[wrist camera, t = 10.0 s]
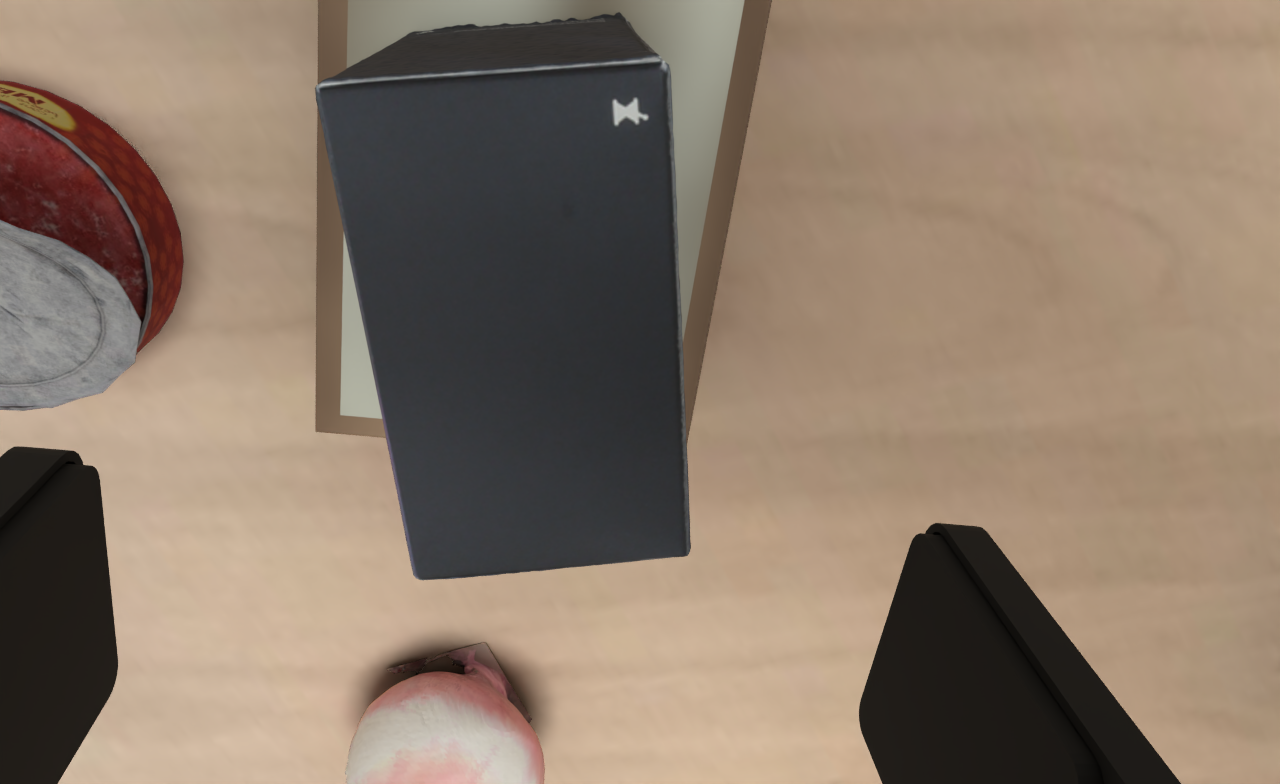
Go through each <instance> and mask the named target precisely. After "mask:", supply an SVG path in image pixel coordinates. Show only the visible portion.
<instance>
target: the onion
mask: <svg viewBox="0 0 1280 784" xmlns="http://www.w3.org/2000/svg"><path fill="white" fill-rule="evenodd" d="M445 655H446V656H449V657H450V658H451V659H453V660H454V661H453V662H452V663H453V665H458V666H461V667H465V668H464V672H465V674H456V673H450V672H441V671H440V672H438V671H435V672H428V673H423V674H418V672H419V671H421V670H422V669H423V667H424V666H425V664H426V663H428V662H431V661H433V660H435V659H438V658H440V657H443V656H445ZM426 659H427V658H424V659H421V660H418V661H415V662H412V663H408V664H405V665H401V666H397V667H393V668H389V669H387V671H391V672H393V673H399V672H403V673H404V672H407V671H416V676H413V677H411V678H408V679H406V680H404V681H402V682H399V683H398V684H396V685H394V686H392V687H391V688H390V689H388V690H387V691H386V692H384V693H383V694H382V695H381V696H379V697H378V698H377V699H376V700H375V701H373V702H372V703H371V704H370V705H369V707H368V708H367V710H366V711H365V713H364V715H363V716H362V718H361V720H360V721H359V723H358V726H357V730H356V732H355V735H354V737H353V739H352V742H351V745H350V750H349V755H348V761H347V767H346V771H345V774H346V780H347V784H544V773H545V767H544V758H543V752H542V748H541V745H540V742H539V740H538V737H537V735H536V733H535V731H534V730H533V728H532V727H531V726H530V725H529V723H530V721H531V720H532V719H531V717H530V715H529V714H528V712H527V710H526V709H525V707H524V706H523V704H522V703H521V701H520V699H519V698H518V696H517V695H516V693H515V691H514V690H513V688H512V686H511V685H510V683H509V681H508V680H507V678H506V676H505V675H504V673H503V671H502V669H501V668H500V666H499V664H498V663H497V661H496V659H495V658H494V656H493V654H492V653H491V651H490V649H489V648H488V646H487V644H486V643H485V642H484V643H480V644H476V645H473V646H469V647H466V648H462V649H458V650H454V651H450V652H447V653H443V654H440V655H438V656H436V657H434V658H432V659H430V660H428V661H426Z"/></svg>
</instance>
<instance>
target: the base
mask: <svg viewBox="0 0 1280 784" xmlns="http://www.w3.org/2000/svg"><path fill="white" fill-rule="evenodd" d="M771 2H772V0H318V84H319V83H320V82H321V81H323V80H324V79H327V78H329V77H333V76H335V75H337V74H339V73H341V72H342V71H344V70H346V69H347V68H349V67H350V66H352V65H354V64H356V63H359V62H360V61H361V60H363V59H366V58H367V57H370V56H371V55H373V54H375V53H376V52H378V51H381V50H382V49H384V48H385V47H387V46H389V45H391V44H393V43H395V42H396V41H398V40H400V39H401V38H403V37H405V36H406V35H407V34H409V33H411V32H414V31H428V30H433V29H439V28H444V27H452V26H456V25H467V24H475V25H476V26H480V27H482V26H486V25H487V26H493V25H500V24H503V23H507V24H521V23H525V24H529V23H533V22H536V21H537V22H539V23H545V22H550V21H552V20H553V19H560V20H563V21H565V20H567V19H569V18H575V19H577V20H585V19H590V18H592V17H594V16H600V15H603V14H609V15H613V16H614V15H615V14H616V13H618V12H620V13H621V14H622V16H624V17H625V18H626V19H627V20H628V21H629V22H630V23H631V26H632V27H633V29H634V31H635V32H636V33H637V34H638V35H639V36H640V37H641V39H642V40H644V41H645V42H646V43H647V44H648V45H649V46H650V47H651V48H652V49H653V50H654V51H655V52H656V53H657V54H659V55H660V56H661V58H662V59H663V60H664V61H665V62H666V63H667V64H669V67H670V71H671V88H672V111H673V136H674V158H675V171H676V197H677V228H678V246H679V252H678V258H679V278H680V295H681V314H682V341H683V358H684V394H685V413H686V445H687V441H688V435H689V430H690V425H691V420H692V415H693V409H694V404H695V399H696V394H697V388H698V383H699V378H700V373H701V368H702V362H703V357H704V352H705V347H706V341H707V336H708V331H709V326H710V321H711V315H712V310H713V305H714V300H715V294H716V289H717V284H718V279H719V274H720V268H721V263H722V258H723V253H724V247H725V242H726V237H727V232H728V227H729V221H730V216H731V211H732V206H733V200H734V195H735V190H736V185H737V179H738V174H739V169H740V164H741V159H742V153H743V148H744V143H745V138H746V132H747V127H748V122H749V117H750V112H751V106H752V101H753V96H754V91H755V85H756V80H757V75H758V70H759V65H760V59H761V54H762V49H763V44H764V38H765V33H766V28H767V23H768V18H769V12H770V7H771ZM316 432H325V433H336V434H348V435H359V436H371V437H383V438H386V434H385V429H384V424H383V420H382V415H381V410H380V405H379V400H378V395H377V390H376V385H375V380H374V375H373V370H372V365H371V360H370V355H369V350H368V345H367V341H366V336H365V331H364V326H363V321H362V316H361V312H360V307H359V302H358V297H357V292H356V287H355V283H354V278H353V273H352V268H351V263H350V259H349V254H348V249H347V244H346V239H345V235H344V230H343V225H342V220H341V215H340V210H339V206H338V201H337V196H336V191H335V186H334V182H333V177H332V172H331V167H330V163H329V158H328V154H327V150H326V144H325V138H324V132H323V128H322V124H321V119H320V115H319V110H318V128H317V283H316Z"/></svg>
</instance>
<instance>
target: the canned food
mask: <svg viewBox="0 0 1280 784" xmlns="http://www.w3.org/2000/svg"><path fill="white" fill-rule="evenodd" d="M183 263H184V259H183V250H182V241H181V233H180V230H179V227H178V223H177V220H176V217H175V214H174V211H173V208H172V205H171V203H170V201H169V199H168V197H167V195H166V194H165V192H164V190H163V188H162V186H161V184H160V182H159V181H158V179H157V177H156V175H155V174H154V173H153V172H152V170H151V169H150V168H149V166H148V165H147V164H146V163H145V161H144V160H143V159H142V157H141V156H140V155H139V154H138V152H137V151H136V150H135V149H134V148H133V147H132V146H131V145H130V144H129V143H128V142H127V141H125V140H124V139H123V138H122V137H121V136H120V135H119V134H118V133H117V132H116V131H115V130H114V129H113V128H111V127H110V126H109V125H108V124H106V123H105V122H103V121H102V120H100V119H99V118H97V117H96V116H94V115H93V114H91V113H90V112H88V111H87V110H85V109H84V108H82V107H81V106H79V105H77V104H74V103H72V102H70V101H68V100H66V99H64V98H61V97H59V96H57V95H55V94H53V93H50V92H48V91H45V90H42V89H38V88H34V87H30V86H27V85H23V84H19V83H16V82H10V81H0V410H20V411H24V410H32V409H40V408H53V407H56V406H59V405H62V404H65V403H68V402H71V401H73V400H76V399H80V398H84V397H88V396H92V395H95V394H99V393H103V392H104V391H105V390H106V389H107V388H108V387H109V386H110V385H111V384H112V383H113V382H114V381H115V380H116V379H117V378H118V377H119V376H120V375H121V374H122V373H123V372H124V371H126V370H127V369H128V368H129V367H130V366H131V365H132V364H134V363H135V359H136V354H137V353H138V352H139V351H140V350H141V349H142V348H143V347H144V346H145V345H146V344H147V343H148V342H149V341H150V340H152V339H153V338H154V337H155V336H156V335H157V334H158V333H159V332H160V330H161V329H162V327H163V325H164V324H165V322H166V321H167V319H168V318H169V316H170V315H171V313H172V312H173V309H174V306H175V303H176V300H177V297H178V295H179V292H180V289H181V282H182V273H183Z"/></svg>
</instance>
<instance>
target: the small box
mask: <svg viewBox="0 0 1280 784" xmlns="http://www.w3.org/2000/svg"><path fill="white" fill-rule="evenodd" d="M315 91H316V101H317V106H318V110H319V115H320V119H321V124H322V128H323V132H324V138H325V144H326V150H327V154H328V158H329V163H330V167H331V172H332V177H333V182H334V186H335V191H336V196H337V201H338V206H339V210H340V215H341V220H342V225H343V230H344V235H345V239H346V244H347V249H348V254H349V259H350V263H351V268H352V273H353V278H354V283H355V287H356V292H357V297H358V302H359V307H360V312H361V316H362V321H363V326H364V331H365V336H366V341H367V345H368V350H369V355H370V360H371V365H372V370H373V375H374V380H375V385H376V390H377V395H378V400H379V405H380V410H381V415H382V420H383V424H384V429H385V434H386V439H387V444H388V449H389V454H390V459H391V464H392V469H393V474H394V479H395V484H396V489H397V494H398V499H399V504H400V509H401V515H402V520H403V525H404V530H405V536H406V541H407V546H408V551H409V555H410V561H411V566H412V570H413V575H414V576H415V577H416V579H420V580H432V579H454V578H466V577H476V576H491V575H499V574H506V573H519V572H530V571H543V570H552V569H560V568H569V567H582V566H591V565H602V564H612V563H623V562H632V561H641V560H651V559H662V558H670V557H683V556H687V555H688V554H689V552H690V548H691V544H690V517H689V489H688V463H687V445H686V413H685V394H684V358H683V341H682V314H681V295H680V278H679V258H678V252H679V246H678V228H677V197H676V171H675V158H674V136H673V111H672V88H671V71H670V67H669V64H667V63H666V62H665V61H664V60H663V59H662V58H661V56H660V55H659V54H657V53H656V52H655V51H654V50H653V49H652V48H651V47H650V46H649V45H648V44H647V43H646V42H645V41H644V40H642V39H641V37H640V36H639V35H638V34H637V33H636V32H635V31H634V29H633V27H632V26H631V23H630V22H629V21H628V20H627V19H626V18H625V17H624V16H622V14H621V13H620V12H618V13H616V14H615V15H614V16H613V15H609V14H603V15H600V16H594V17H592V18H590V19H585V20H577V19H575V18H569V19H567V20H565V21H563V20H560V19H553V20H552V21H550V22H545V23H539V22H537V21H536V22H533V23H529V24H525V23H521V24H507V23H503V24H500V25H493V26H487V25H486V26H482V27H480V26H476V25H475V24H467V25H456V26H452V27H444V28H439V29H433V30H428V31H414V32H411V33H409V34H407V35H406V36H405V37H403V38H401V39H400V40H398V41H396V42H395V43H393V44H391V45H389V46H387V47H385V48H384V49H382V50H381V51H378V52H376V53H375V54H373V55H371V56H370V57H367V58H366V59H363V60H361V61H360V62H359V63H356V64H354V65H352V66H350V67H349V68H347V69H346V70H344V71H342V72H341V73H339V74H337V75H335V76H333V77H329V78H327V79H324V80H323V81H321V82H320V83H319V84H318V85H317V86H316V88H315Z"/></svg>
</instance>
